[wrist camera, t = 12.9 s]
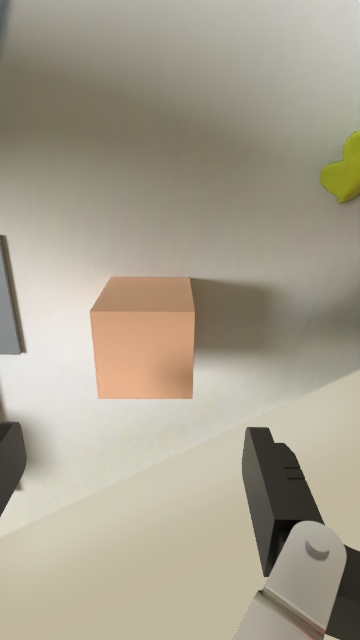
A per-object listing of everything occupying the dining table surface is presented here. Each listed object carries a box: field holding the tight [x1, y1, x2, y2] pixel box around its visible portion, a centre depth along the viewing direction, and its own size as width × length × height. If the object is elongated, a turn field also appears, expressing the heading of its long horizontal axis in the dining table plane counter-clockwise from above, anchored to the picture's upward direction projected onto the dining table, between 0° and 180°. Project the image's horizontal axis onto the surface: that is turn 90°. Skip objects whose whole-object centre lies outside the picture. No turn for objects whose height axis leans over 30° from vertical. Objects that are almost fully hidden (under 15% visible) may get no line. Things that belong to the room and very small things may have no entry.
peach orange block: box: [90, 277, 195, 399], centre depth 20 cm, size 5×5×6 cm
